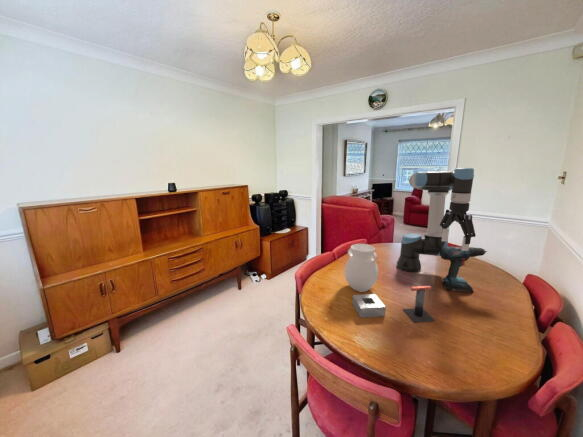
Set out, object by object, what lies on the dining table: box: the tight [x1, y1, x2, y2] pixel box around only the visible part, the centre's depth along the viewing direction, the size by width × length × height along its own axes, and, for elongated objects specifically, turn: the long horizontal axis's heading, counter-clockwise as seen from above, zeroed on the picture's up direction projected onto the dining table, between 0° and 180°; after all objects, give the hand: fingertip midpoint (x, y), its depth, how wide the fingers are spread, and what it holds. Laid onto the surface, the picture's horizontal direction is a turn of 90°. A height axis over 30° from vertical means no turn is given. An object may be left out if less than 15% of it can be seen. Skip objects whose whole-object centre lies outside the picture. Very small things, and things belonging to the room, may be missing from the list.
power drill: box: [439, 245, 488, 293], centre depth 140 cm, size 9×23×25 cm, turn 78°
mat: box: [402, 307, 436, 324], centre depth 118 cm, size 10×10×1 cm
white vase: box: [344, 243, 379, 293], centre depth 142 cm, size 19×18×25 cm
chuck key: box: [410, 285, 432, 317], centre depth 117 cm, size 9×4×14 cm, turn 94°
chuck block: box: [352, 293, 387, 319], centre depth 123 cm, size 12×12×5 cm
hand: (454, 245), depth 119 cm, fingers open, 13 cm apart
